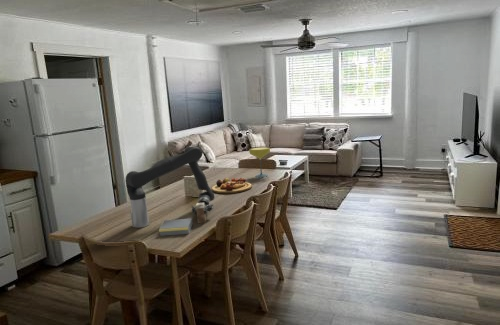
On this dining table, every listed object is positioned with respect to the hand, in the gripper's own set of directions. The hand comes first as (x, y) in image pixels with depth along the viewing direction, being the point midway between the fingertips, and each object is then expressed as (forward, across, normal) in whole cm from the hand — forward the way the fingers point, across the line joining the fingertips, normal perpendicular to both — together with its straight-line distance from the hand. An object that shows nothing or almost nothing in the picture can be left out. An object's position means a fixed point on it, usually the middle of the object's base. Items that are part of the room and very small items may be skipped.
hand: (200, 212), depth 224 cm
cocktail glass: (-111, +40, +7) cm, 118 cm away
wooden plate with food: (-76, +15, +7) cm, 77 cm away
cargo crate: (-3, 0, +6) cm, 7 cm away
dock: (+9, -13, +6) cm, 17 cm away
